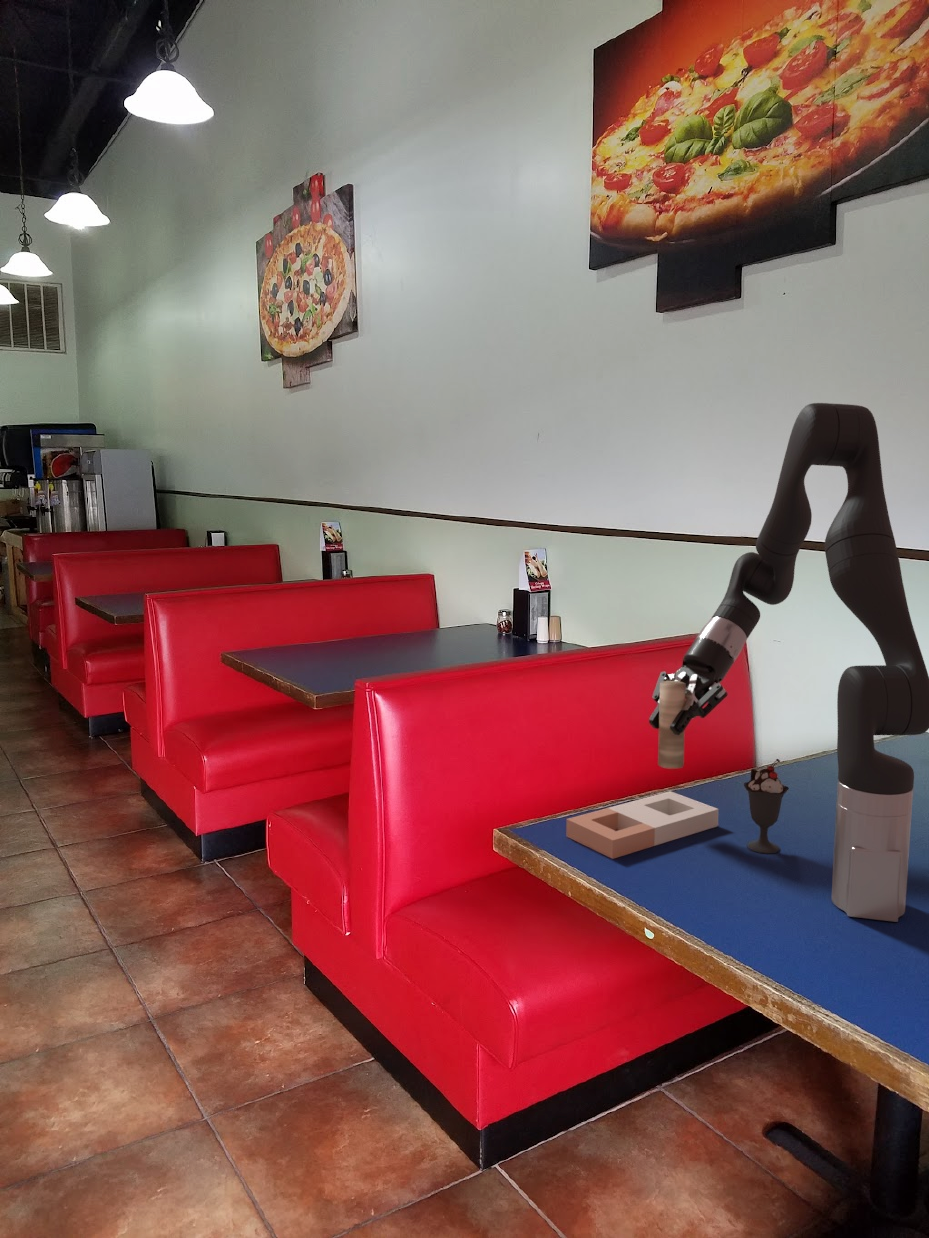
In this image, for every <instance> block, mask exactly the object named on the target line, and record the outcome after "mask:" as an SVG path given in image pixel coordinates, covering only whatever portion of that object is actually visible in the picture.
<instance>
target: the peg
mask: <svg viewBox="0 0 929 1238" xmlns="http://www.w3.org/2000/svg"><path fill="white" fill-rule="evenodd" d="M685 692H686V684H685V683H684V682H679V681H663V682H660V700H659V729H658V754H657V755H658V756H657V759H658V760H657V765H658V766H659V767H661V768H664V769H669V770H670V769H671V770H673V769H682V768H683V767H684V763H685V730H686V729H685V730H684V731H683V732H682V733H680V735H676V734H674V733H673V732H672V731H671V729H670V726H671V724H672V722H673V721H674V719H675V718H676V716H677V715H678V713H679V712H680V711H681V710H684V709H683V707H684V704H685V701H686V698H685Z"/></svg>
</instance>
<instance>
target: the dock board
mask: <svg viewBox="0 0 929 1238" xmlns="http://www.w3.org/2000/svg"><path fill="white" fill-rule="evenodd" d="M719 810H720V809H719V808H717V807H715V806H712V805H711V806H710V805H709V804H705V803H703V802H700V801H697V800H696V799H692V798H690V797H687V796H685V795H681V794H679V793H676V792H674V791H671V790H669V791H665V792H661V793H658V794H654V795H651V796H647V797H644V798H639V799H636V800H632V801H629V802H625V803H620V804H618V805H614V806H609V807H606V808H603V809H600V810H595V811H592V812H587V813H583V814H581V815H577V816H573V817H569V818H566V834H565V835H566V838H569V839H570V840H573V841H575V842H577V843H579V844H581V845H583V846H585V847H587V848H589V849H591V850H593V851H595V852H597V853H599V854H602V855H603V856H606V857H608V858H609V859H612V860H614V859H617V858H620V857H623V856H626V855H630V854H633V853H635V852H638V851H639V852H640V851H642V850H646V849H649V848H653V847H655V846H659V845H661V844H664V843H668V842H671V841H675V840H677V839H680V838H684V837H687V836H691V835H694V834H697V833H700V832H703V831H706V830H710V829H714V828H716V827H719Z"/></svg>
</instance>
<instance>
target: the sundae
mask: <svg viewBox="0 0 929 1238" xmlns="http://www.w3.org/2000/svg"><path fill="white" fill-rule="evenodd" d="M780 762H781V760H780V759H778V758H776V759H775V761H773V763H772V764H771V765H768V766H767V767H766V768H761V769H759V770H757V769H755V768H751V769H750V780H748V781H746V782H743V786H744V788H745V790H746V791H747V792H748V798H749V799H748V800H749V801H748V802H749V810H750V815H751V819H752V821H753V822H754V823H755V824H756V825H757V826H758V827H759V830H760V831H759V836H758V837H759V838H758V839H757V840H752V841H749V842H748V843H746V847H747V848H748V850H749V851H752V852H753V853H758V854H766V855H771V854H772V855H773V854H777V853H778V852H779V851H780V847H779V845H778V844H776V843H773V842H770V840H769V838H768V837H769V836H768V830H769V828H770V827H772V826H773V825H775V823H777V821H778V819H779V816H780V813H781V812H780V811H781V805H782V801H783V797H784V795H785V794H786V793H787V792H788V791H789V787H788V786H786V785H784V784H783V783H782V781H781V780H780V778H779V777H778V776H779V775H778V773H777V772H775V766H776V764H778V763H780Z"/></svg>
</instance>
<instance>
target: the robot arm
mask: <svg viewBox="0 0 929 1238" xmlns="http://www.w3.org/2000/svg"><path fill="white" fill-rule="evenodd" d="M788 438H789V439H788V443H787V446H786V450H785V454H784V457H783V461H782V466H781V468H780V469H781V470H780V473H779V477H778V481H777V486H776V490H775V495H774V498H773V501H772V504H771V507H770V509H769V511H768V513H767V516H766V518H765V520H764V523H763V526H762V528H761V530H760V532H759V534H758V537H757V539H756V542H755V549H756V552H753V551H750V552H749V551H748V552H745V553H744V554H742V555H741V556H738V558H737V560H736V561H735V563H734V565H733V568H732V570H731V575H730V579H729V583H728V587H727V590H726V592H725V594H724V596H723V599H722V600H721V603H720V604H719V605H718V608H716V610H715V612H714V613H713V615H712V616H711V618H710V619H709V620H708V621H707V623H706V624H705V625H704V626H703V627H702V628H701V630H700V632H699V633H698V634H697V636H696V637H695V639H694V640H693V641H692V644H691V645H690V647H689V648H688V650H687V651H686V653H684V656H683V658H682V665H681V666H680V668H679V669H677V670H676V671H675V672H674V673H667V672H666V671H663V670H662V671H661V672H660V674H659V677H658V679H657V682H656V684H655V688H654V691H653V693H652V696H651V697H652V699H653V700H654V701H655V703H656V704H657V705H656V707H655V708H654V711H652V713H651V715H650V716H649V720H648V723H649V724H650V725H651V727H652V728H653V729H656V730H659V700H660V682H663V681H679V682H684V683H685V684H686V692H685V704H684V707H683V709H684V710H681V711H680V712H679V713H678V715H677V716H676V718H675V719H674V721H673V722H672V724H671V726H670V729H671V731H672V732H673V733H674V734H676V735H680V733H682V732H683V731H684V730H686V728H687V727H688V725H689V724H690V723H691V721H692V720H694V719H695V718H696V717H699V718H702V719H704V718H706V717H707V716H708V715H709V714H710V713H711V712H712V711H713V710H714V709H715V708H717V706H718V705H720V703H722V701H723V700H724V699H726V698H727V696H728V692H727V691H726V689H725V688H724V686H723V685H722V684H721V682H722V681H724V679H725V677H726V675H727V674H728V672H729V671H730V669H731V667H732V666H733V665H734V663H735V661H737V660H736V659H738V657H739V656H740V654H741V652H742V650H743V648H744V645H745V644H746V642H747V640H748V638H749V637H750V635H751V634H752V632H753V630H754V629H755V628H756V626H757V624H758V623H759V620H760V619H761V612H760V609H759V608H758V606H757V605H756V604H755V603H754V602H753V601H752V600H751V599H749V597H747V596H746V595H745V593H746V594H747V595H749V596H752V597H753V598H755V599H757V600H759V601H761V602H763V603H765V604H767V605H770V606H774V605H778V604H779V605H780V604H781V603H783V602H784V601H786V599H787V598H788V597H789V596H790V593H791V592H792V589H793V585H794V581H795V568H796V560H797V556H798V554H799V552H800V550H801V547H802V546H803V544H804V542H805V540H806V538H807V535H808V534H809V531H810V530H811V525H812V514H813V513H812V509H811V504H810V501H809V498H808V495H807V490H806V486H805V480H806V479H805V478H806V476H807V473H808V471H809V469H810V468H811V466H828V467H842V468H843V470H844V472H845V474H846V478H847V480H846V481H847V492H846V493H847V494H846V496H845V498H844V501H843V503H842V505H841V507H840V509H839V510H838V512H837V513H836V515H835V517H834V518H833V521H832V522H831V524H830V526H829V528H828V530H827V532H826V536H825V539H824V552H825V558H826V559H825V560H826V565H827V571H828V575H829V576H828V577H829V580H830V584H831V587H832V589H833V591H834V592H835V594H836V595H837V597H838V598H839V599H840V601H841V602H842V603H843V604H844V605H845V606H846V607H847V608H848V610H849V611H850V612H851V613H852V614H853V615H854V616H855V617H856V618H857V619H858V620H859V622H861V623H862V625H863V626H864V627H865V628H866V629H867V630H868V631H869V632H870V634H871V635H872V637H873V638H874V640H875V642H876V643H877V645H878V647H879V649H880V652H881V655H882V657H883V660H884V663H885V665H880V664H879V665H869V664H868V665H852V666H849V667H847V668H846V669H845V670H844V671H843V672H842V674H841V676H840V679H839V682H838V687H837V707H836V708H837V713H836V714H837V738H836V739H837V744H836V750H837V751H836V754H837V768H838V769H837V790H836V791H837V794H836V810H835V825H834V826H835V827H834V828H835V829H834V844H833V845H834V846H833V864H832V881H831V884H832V886H831V897H830V898H831V902H832V903H833V904H834V905H835V906H836V907H837V908H838V909H840V910H841V911H844V912H845V913H846V916H848V917H852V918H862V919H867V920H868V919H869V920H877V921H886V922H895V923H896V922H897V923H898V922H899V918H900V917H901V916H903V915H904V914H905V912H906V903H907V889H908V887H907V886H908V872H909V871H908V870H909V856H910V855H909V854H910V843H911V841H910V840H911V826H912V825H911V823H912V810H913V798H914V797H913V795H914V784H915V783H914V781H915V771H914V768H913V767H912V766H911V765H910V764H909V763H907V762H906V761H905V760H902V759H901V758H897V757H894V756H893V755H892V756H891V755H889V754H886V753H883V752H880V751H879V750H877V749H876V748H875V743H874V741H875V740H874V738H875V737H874V736H917V735H918V736H919V735H922V734H924V733H926V732H928V731H929V673H928V670H927V666H926V663H925V660H924V656H923V654H922V651H921V648H920V645H919V641H918V638H917V635H916V631H915V628H914V625H913V621H912V618H911V615H910V609H909V606H908V601H907V597H906V591H905V587H904V582H903V581H904V580H903V577H902V569H901V563H900V559H899V554H898V548H897V545H896V539H895V536H894V532H893V528H892V523H891V521H890V516H889V510H888V504H887V499H886V494H885V489H884V481H883V480H884V479H883V472H882V470H883V469H882V462H881V451H880V442H879V434H878V428H877V422H876V420H875V416H874V415H873V413H872V411H871V410H870V409H869V408H868V407H866V406H862V405H857V404H848V403H847V404H846V403H843V404H842V403H829V402H814V403H809V404H807V405H805V406H804V407H803V408H802V409H801V410H800V412H799V413H798V415H797V416H796V418H795V421H794V424H793V426H792V429H791V432H790V434H789V437H788ZM705 705H706V706H705ZM704 706H705V707H704ZM684 732H685V731H684Z"/></svg>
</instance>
